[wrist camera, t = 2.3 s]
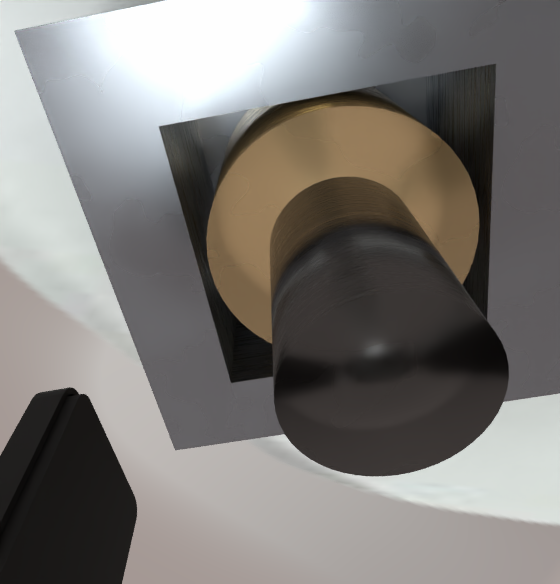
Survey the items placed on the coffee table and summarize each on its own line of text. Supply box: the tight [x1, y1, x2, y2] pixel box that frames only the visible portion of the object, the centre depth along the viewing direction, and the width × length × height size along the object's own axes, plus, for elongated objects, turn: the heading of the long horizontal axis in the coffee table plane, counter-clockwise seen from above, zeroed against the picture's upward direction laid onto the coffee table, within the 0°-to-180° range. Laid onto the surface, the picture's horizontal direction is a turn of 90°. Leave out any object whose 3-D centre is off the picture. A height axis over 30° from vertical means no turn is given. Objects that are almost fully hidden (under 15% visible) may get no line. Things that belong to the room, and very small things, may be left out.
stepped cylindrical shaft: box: [206, 87, 509, 476], centre depth 14 cm, size 7×7×12 cm
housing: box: [15, 0, 560, 450], centre depth 17 cm, size 13×13×7 cm
